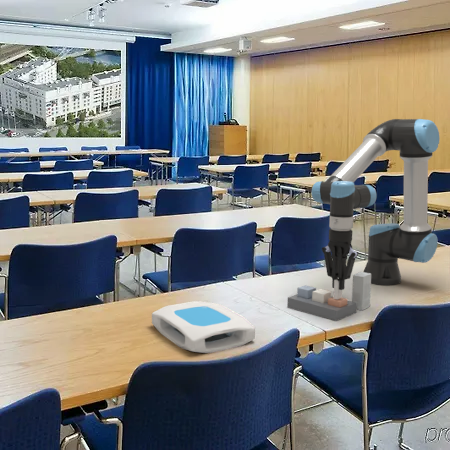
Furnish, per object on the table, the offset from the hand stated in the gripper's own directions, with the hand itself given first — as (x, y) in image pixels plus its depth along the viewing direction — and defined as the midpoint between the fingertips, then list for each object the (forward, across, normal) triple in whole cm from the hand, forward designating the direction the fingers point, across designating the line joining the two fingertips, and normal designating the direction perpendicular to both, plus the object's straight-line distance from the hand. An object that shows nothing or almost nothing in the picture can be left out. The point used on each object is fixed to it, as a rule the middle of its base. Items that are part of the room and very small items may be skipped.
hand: (337, 298), depth 200 cm
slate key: (+3, -13, 0) cm, 13 cm away
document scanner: (+6, -18, -45) cm, 49 cm away
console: (+6, -6, 0) cm, 9 cm away
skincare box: (+6, +2, +12) cm, 14 cm away
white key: (+3, -6, 0) cm, 7 cm away
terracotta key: (+4, 0, 0) cm, 4 cm away
